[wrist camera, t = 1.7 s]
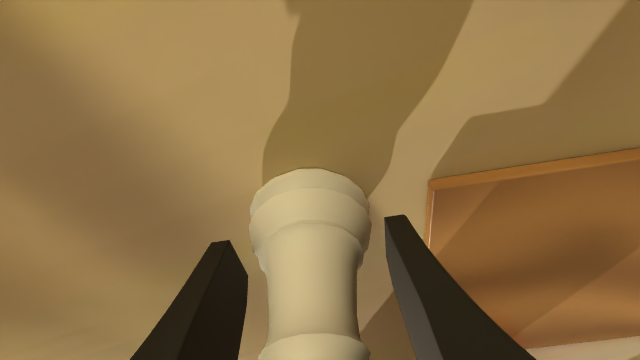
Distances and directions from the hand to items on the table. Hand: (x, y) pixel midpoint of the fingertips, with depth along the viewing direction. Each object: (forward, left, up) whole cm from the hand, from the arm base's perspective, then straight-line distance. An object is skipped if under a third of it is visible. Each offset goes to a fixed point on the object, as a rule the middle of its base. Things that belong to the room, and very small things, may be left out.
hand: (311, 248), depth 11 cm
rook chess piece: (0, 0, -2) cm, 2 cm away
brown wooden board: (-7, -13, -2) cm, 15 cm away
